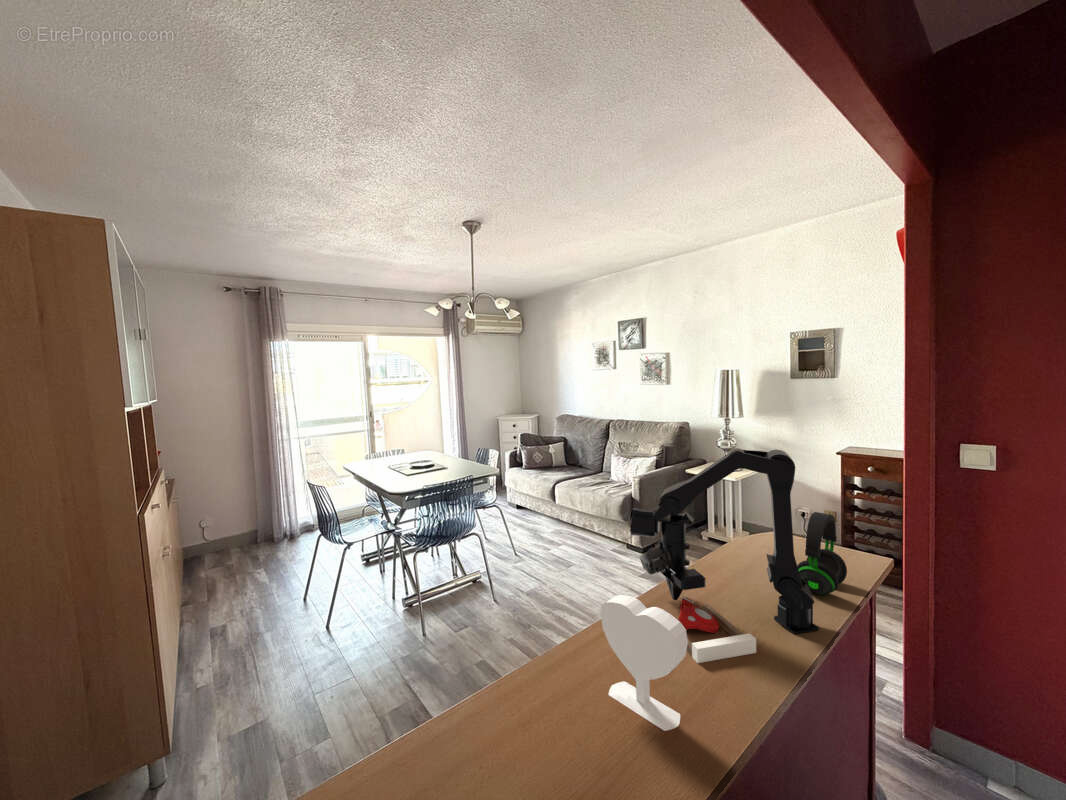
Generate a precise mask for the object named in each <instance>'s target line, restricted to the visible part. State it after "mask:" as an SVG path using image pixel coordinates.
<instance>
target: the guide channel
mask: <svg viewBox="0 0 1066 800" xmlns="http://www.w3.org/2000/svg"><path fill="white" fill-rule="evenodd" d="M703 610H705V611H706V612H708V613H709V614H711V615H712V616H713V617H714V618H715V619H716V620H717V621H718V623H719V627H721V628H722V629H724V631H725V632H727V634H729V636H727V637H720V638H713V639H706V640H703V641H697V642H692V641H691V640H689V638H688V637H687V640H688V644H687V650H686V653H688V654H689V655H690V656H691V658H692V659H693V661H695V662H696V663H697V664H701V663H705V662H706V663H707V662H712V661H713V662H714V661H717V660H723V659H724V660H725V659H729V658H735V657H739V656H745V655H746V656H747V655H751V654H757V638H756V637H755V636H754V635H752V634H751V633H750V632H749V633H744V634H743V633H742V632H741V631H740V630H739V629H737V628H736V627H735V626H734V625H733V624H732V623H731V622H730V621H729V620H727V618H725V617H724V616H722V614H720V613H719V612H718V611H717V610H716V609H714V608H713V607H712V605H710V604H708V603H707V604H703Z"/></svg>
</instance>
